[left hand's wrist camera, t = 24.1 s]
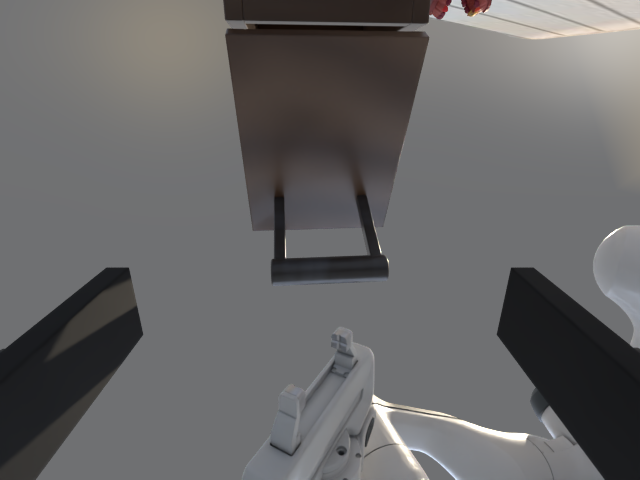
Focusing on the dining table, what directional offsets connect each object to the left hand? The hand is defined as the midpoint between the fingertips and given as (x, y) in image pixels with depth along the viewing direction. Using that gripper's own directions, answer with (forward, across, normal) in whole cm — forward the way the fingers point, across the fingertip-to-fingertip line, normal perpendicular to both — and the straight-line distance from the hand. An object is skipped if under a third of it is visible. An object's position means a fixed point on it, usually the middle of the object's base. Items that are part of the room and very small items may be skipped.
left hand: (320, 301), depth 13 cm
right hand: (+16, 0, +16) cm, 23 cm away
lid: (+13, 0, -4) cm, 13 cm away
